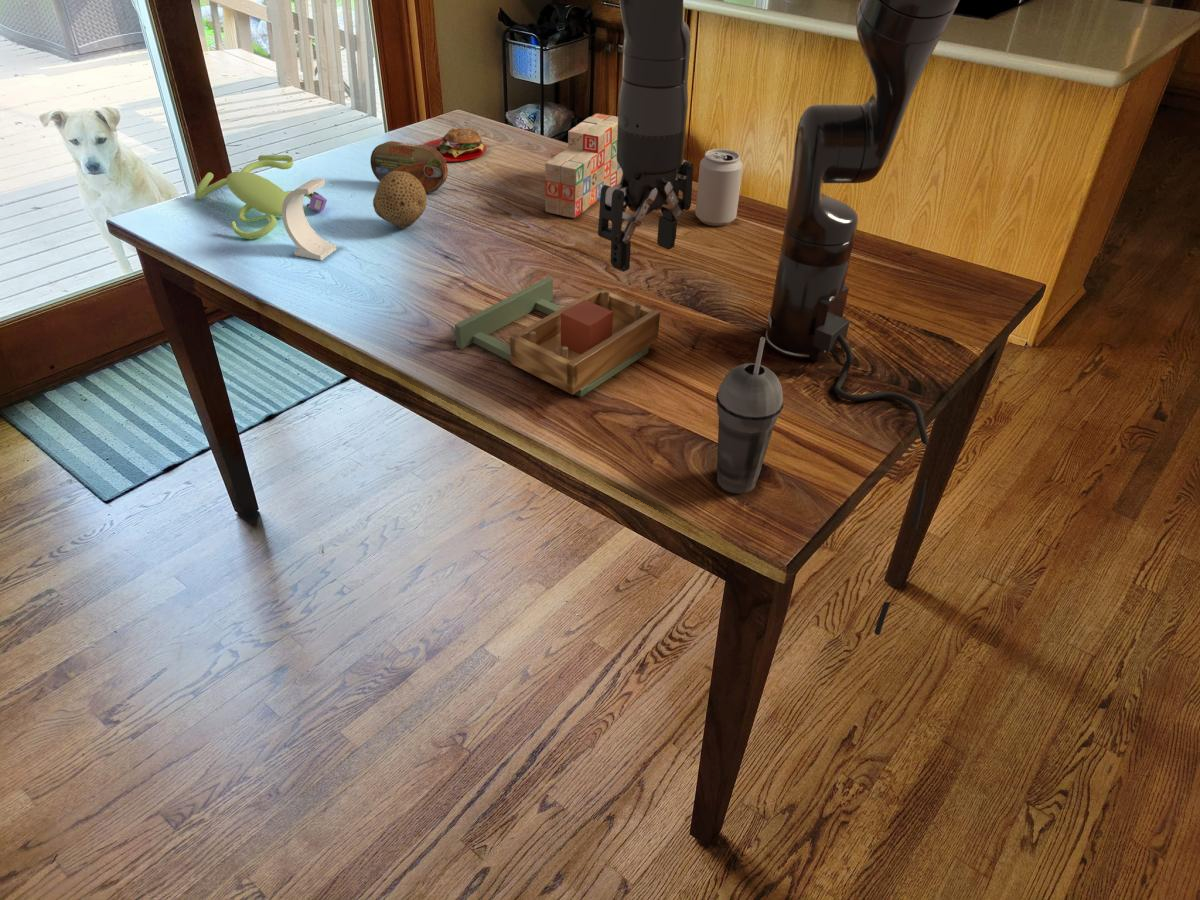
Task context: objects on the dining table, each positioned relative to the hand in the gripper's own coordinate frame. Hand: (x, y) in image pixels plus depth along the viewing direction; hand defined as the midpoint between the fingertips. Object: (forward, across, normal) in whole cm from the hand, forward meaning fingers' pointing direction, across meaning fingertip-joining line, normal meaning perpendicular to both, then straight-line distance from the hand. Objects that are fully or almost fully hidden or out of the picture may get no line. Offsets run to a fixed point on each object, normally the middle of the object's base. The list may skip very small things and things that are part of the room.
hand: (643, 257), depth 106 cm
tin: (+18, +20, +74) cm, 79 cm away
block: (+15, -1, +8) cm, 18 cm away
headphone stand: (+18, -8, +63) cm, 66 cm away
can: (+18, +51, +24) cm, 59 cm away
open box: (+17, -1, +8) cm, 19 cm away
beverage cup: (+18, -7, -22) cm, 29 cm away
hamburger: (+18, +39, +84) cm, 94 cm away
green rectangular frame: (+18, -1, +14) cm, 23 cm away
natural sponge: (+18, +8, +60) cm, 63 cm away
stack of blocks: (+18, +41, +48) cm, 66 cm away
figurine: (+18, -4, +86) cm, 88 cm away
